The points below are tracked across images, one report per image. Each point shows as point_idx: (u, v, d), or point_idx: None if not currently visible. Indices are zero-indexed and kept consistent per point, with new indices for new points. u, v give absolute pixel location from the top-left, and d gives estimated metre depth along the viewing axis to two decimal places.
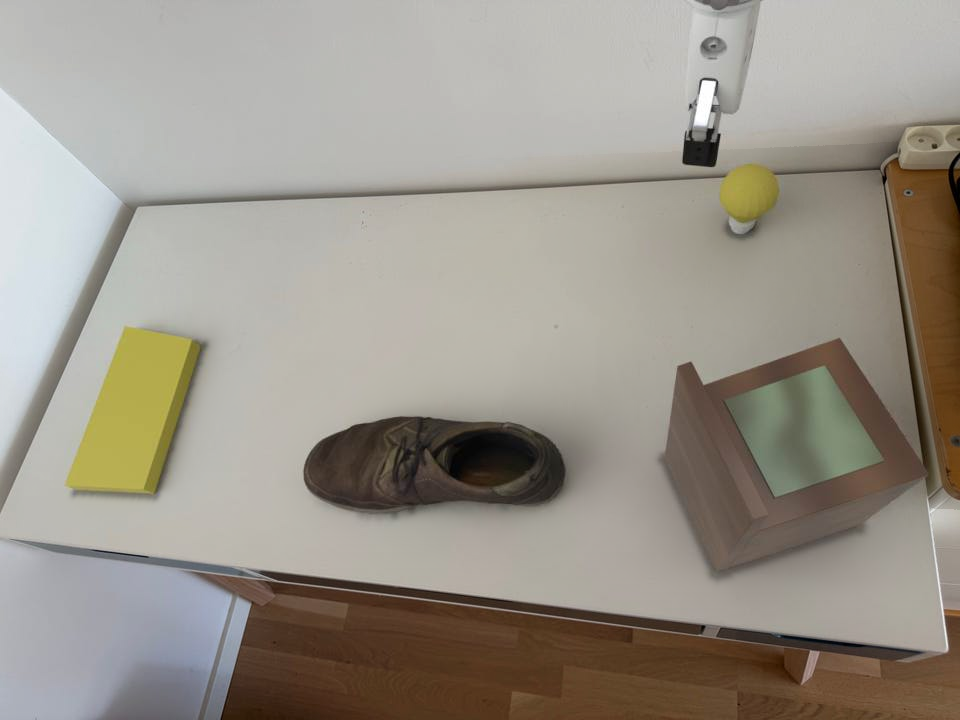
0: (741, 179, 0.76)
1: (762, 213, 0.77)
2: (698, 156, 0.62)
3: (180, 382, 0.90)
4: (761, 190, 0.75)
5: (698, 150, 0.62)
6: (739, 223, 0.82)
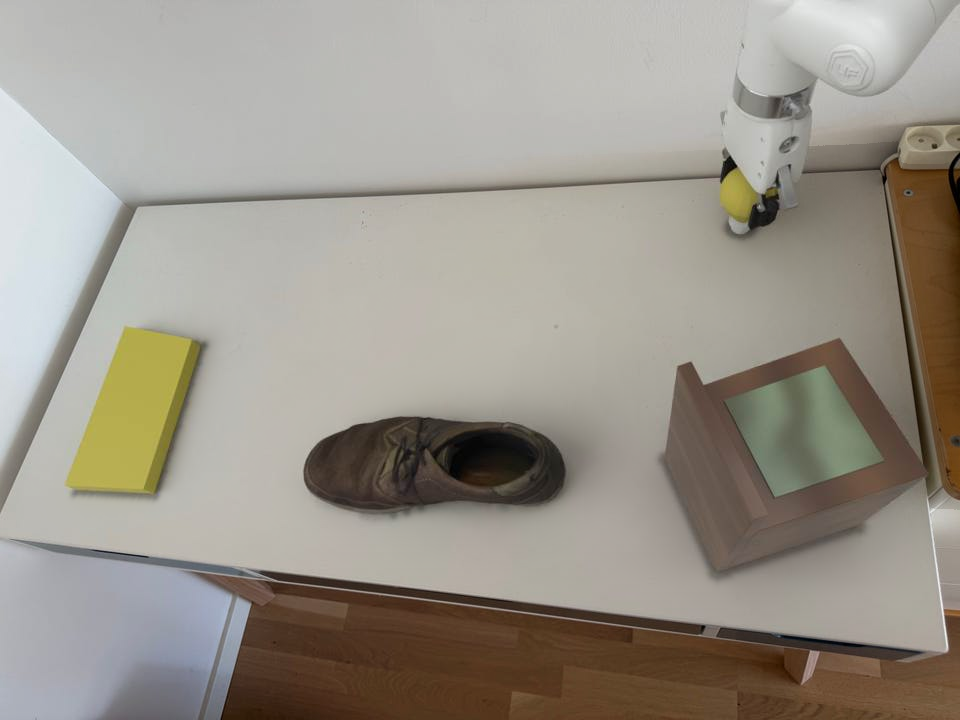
0: (741, 179, 0.76)
1: None
2: (767, 219, 0.76)
3: (180, 382, 0.90)
4: None
5: (767, 215, 0.75)
6: (739, 223, 0.82)
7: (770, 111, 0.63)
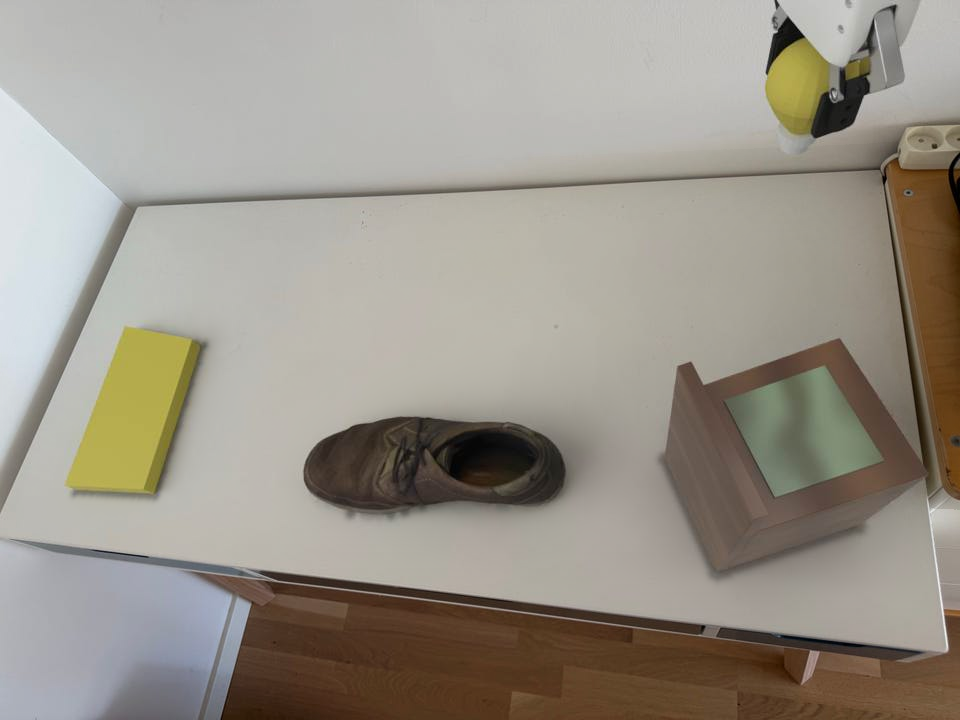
0: (803, 56, 0.48)
1: None
2: (843, 118, 0.48)
3: (180, 382, 0.90)
4: None
5: (845, 111, 0.48)
6: (794, 136, 0.55)
7: None
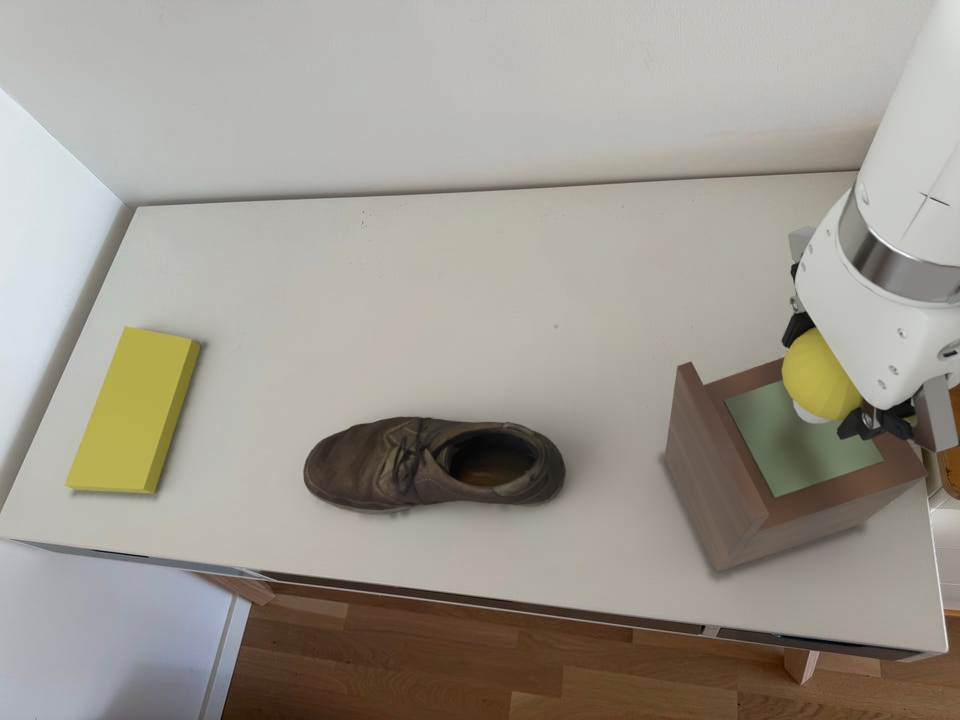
0: (828, 360, 0.41)
1: None
2: (877, 431, 0.41)
3: (180, 382, 0.90)
4: None
5: (879, 428, 0.41)
6: None
7: (933, 290, 0.28)
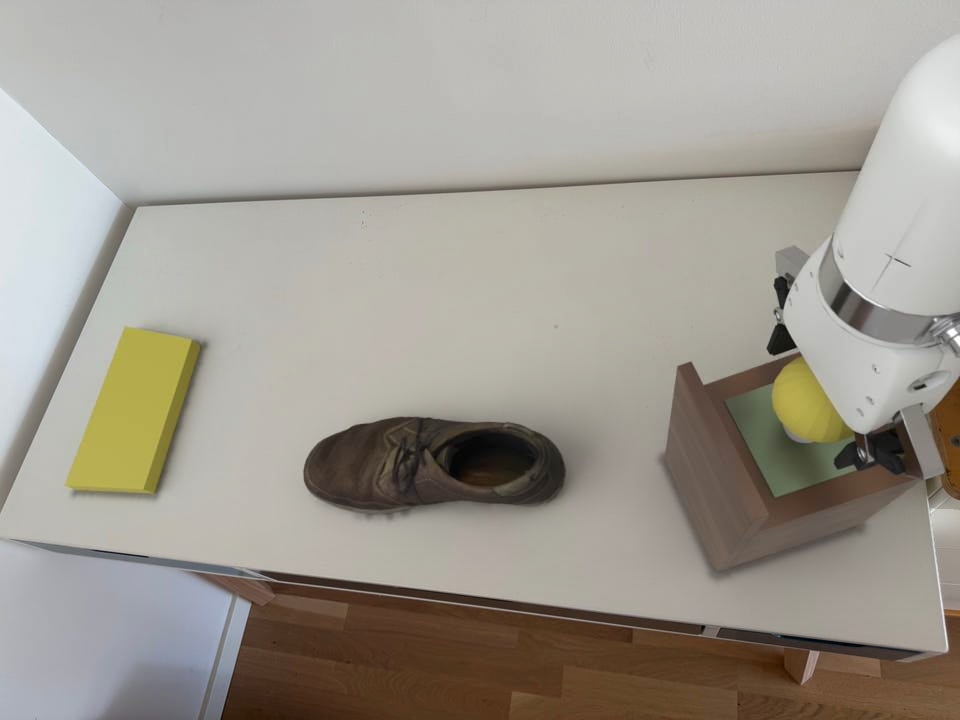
0: (813, 388, 0.45)
1: (846, 438, 0.46)
2: (871, 463, 0.44)
3: (180, 382, 0.90)
4: None
5: None
6: None
7: (901, 334, 0.32)
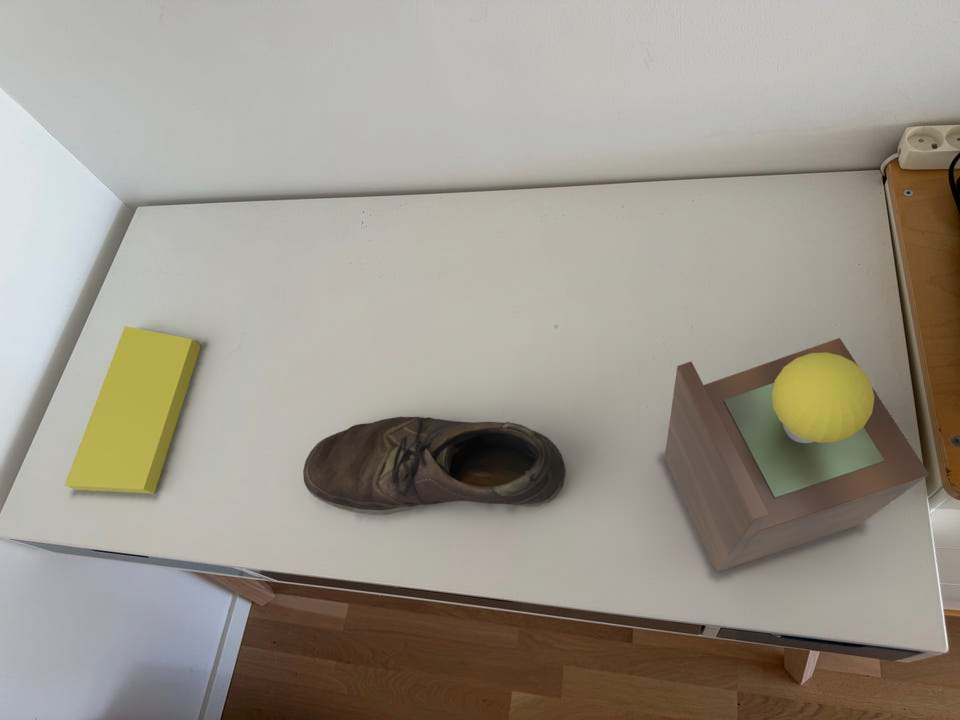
0: (813, 388, 0.45)
1: (846, 438, 0.46)
2: None
3: (180, 382, 0.90)
4: (848, 409, 0.45)
5: None
6: None
7: None
